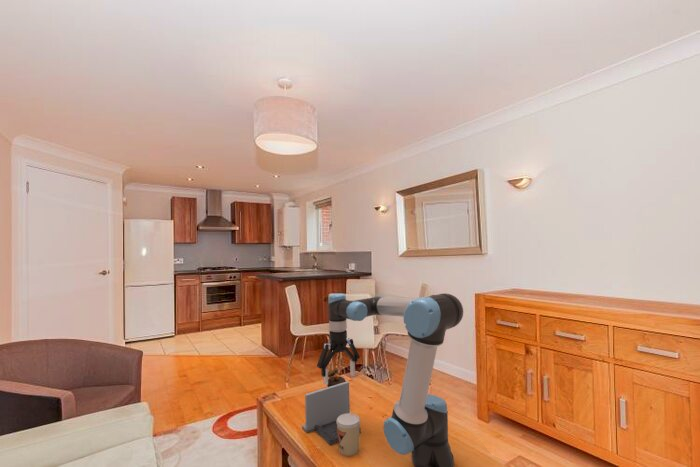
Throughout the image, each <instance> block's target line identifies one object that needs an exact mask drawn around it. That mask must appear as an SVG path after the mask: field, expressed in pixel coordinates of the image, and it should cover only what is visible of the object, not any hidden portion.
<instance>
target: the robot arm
mask: <svg viewBox="0 0 700 467" xmlns="http://www.w3.org/2000/svg"><path fill="white" fill-rule="evenodd" d="M371 316H388V317H389V316H390V317H402V318H403V324H405V325H404V327H405V329H406V330H407V336H408V338H410V343H409V348H408V354H407V359H406V364H405V371H404V375H403V381H402V385H401V386H402V387H401V391H400V396H399V399H398V400H397V401H395V403H394V405H393V409H392V414H391V416H389V417H387V418H386V419H385V420H384V423H383V425H382V426H383V427H382V428H383V434H384V437H385V439H386V441H387V443H388V445H389V446H390V448H391V449H392V450H393V451H394V452H396V453H398V454H399V455H402V456H403V455H407V454H409V453H411V463H412V464H413V466H414V467H454V466H455V461H454V454H453V452H452V450H451V446H450V443H449V426H448V425H449V422H448V421H449V420H448V419H449V418H448V417H449V415H448V413H449V411H448V404H447V402H446V401H445V399H444V398H442V397H441V396H437V395H435V394H431V393H430V394H429V390H430V386H431V385H430V383H431V380H432V375H433V370H434V365H435V360H436V355H437V351H438V347H440V346H441V345H443V344H444V340H445V335H446V331H447V330H450V329H452V328H455V327H457V326H458V325H459V324H460V322H462V320H463V317H464V308H463V304H462V302H461V301H460V299H458V298H457V297H456V296H455V295H453V294H450V293H439V294H438V293H437V294H432V295H429V296H421V297H399V296H397V297H396V296H394V297H393V296H391V297H390V296H389V297H387V296H386V297H385V296H381V295H380V296H379V295H378V296H373V297H368V298H362V299H355V300H349V299H347V298H346V295H345V293H331V294H330V295H329V296H328V319H329V320H328V326H329V334H328V335H329V343H325V342H324V343H322V350H321V353H320V356H319V359H318V361H317V365H316V367H317V368H319V369H320V370H321V374H320V375H321V377H322V378H323V384H324V385H326V386H327V385H328V379H329V377H328V372H329V370H328V368H327V367H328V365H329V363H330V362H331V361H332V359H333V357H334V356H335V355H336V354H339V353H341V352H345V354H346V355H347V356H348V357H349V358H350V359H349V371H350V372H349V373H350V376H351V377H354V378H355V377H356V369H357V362H358V360H359V359H360V357H361V356H360V355H359V353H358V352H359V351H358V350H357V348H356V346H355V344H354V339H353V338H350V337H349V338H348V331H347V328H348V326H347V320H351V321H354V322H356V321H357V322H362V321H363V320H364V319H366V318H367V317H368V318H369V317H371ZM347 345H348V346H349V348H348V347H347Z"/></svg>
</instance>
